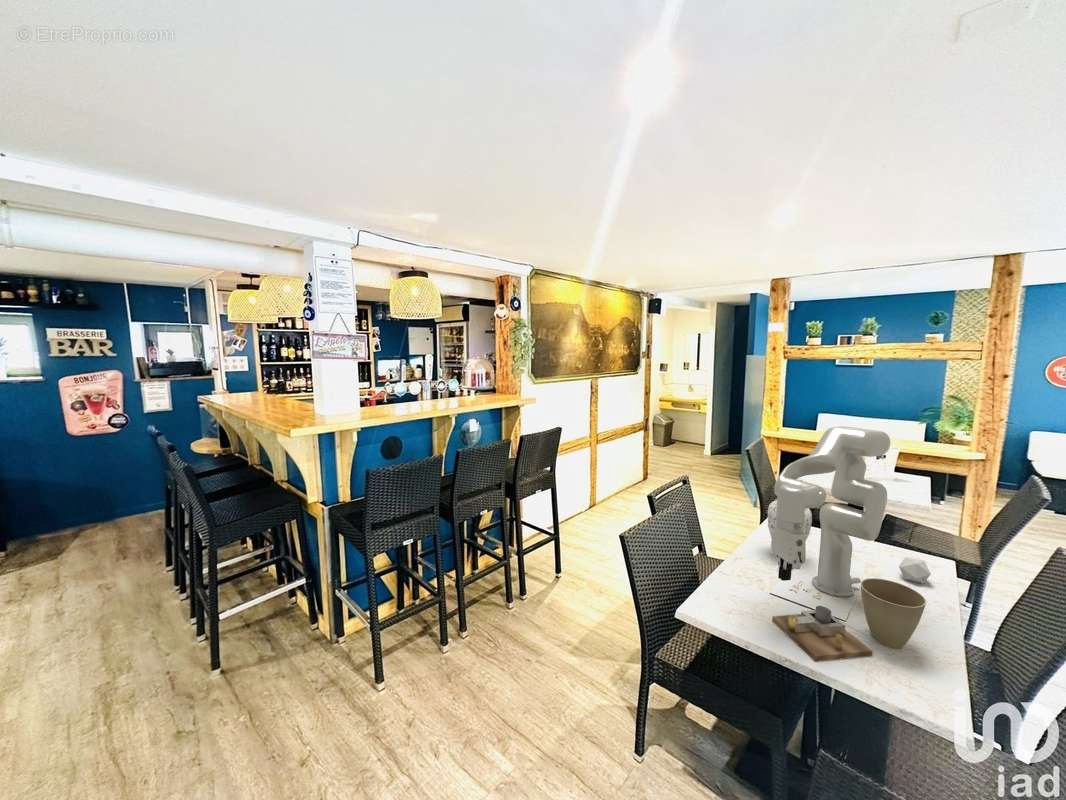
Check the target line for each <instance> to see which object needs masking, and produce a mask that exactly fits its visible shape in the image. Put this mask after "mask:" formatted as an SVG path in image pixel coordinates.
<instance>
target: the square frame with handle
mask: <svg viewBox="0 0 1066 800" xmlns="http://www.w3.org/2000/svg"><path fill="white" fill-rule="evenodd" d="M815 610H816V609H811V610H810V609H809V610H801V611H800V614H801V617H792V616H790V617H789V620H788V630H790V631H791V632H795V633H800V632H811V631H814V632H815V633H817V634H818V635H819V636H820V637H823V636H834V635H836V634H840V635H844V633H845V630H846V624H844V623H843V622H841V620H839V619H838V618H836V617H835V616H833V615H832V614H831V621H830V623H829V624H821V623H820V622H818V621H817V620H816V619H815Z"/></svg>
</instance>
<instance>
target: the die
mask: <svg viewBox="0 0 1066 800" xmlns="http://www.w3.org/2000/svg"><path fill="white" fill-rule="evenodd" d="M898 567H899V570H900V573H901V574H902V577H903V579H904V581H905V580H906V581H909V582H913V583H917V584H925V582H926V581H927V580H928V579H929V577H930V576H931V571H930V569H929V567H928V565H927V563H926V562H925V560H922V559H918V558H913V557H910V556H905V557H904V558H903V560H902V562H900V564H899V565H898Z"/></svg>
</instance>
